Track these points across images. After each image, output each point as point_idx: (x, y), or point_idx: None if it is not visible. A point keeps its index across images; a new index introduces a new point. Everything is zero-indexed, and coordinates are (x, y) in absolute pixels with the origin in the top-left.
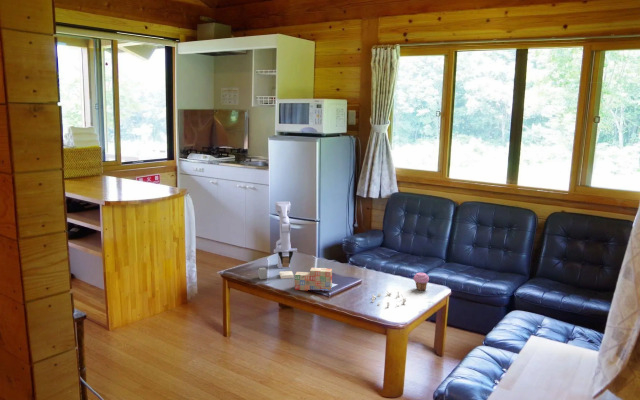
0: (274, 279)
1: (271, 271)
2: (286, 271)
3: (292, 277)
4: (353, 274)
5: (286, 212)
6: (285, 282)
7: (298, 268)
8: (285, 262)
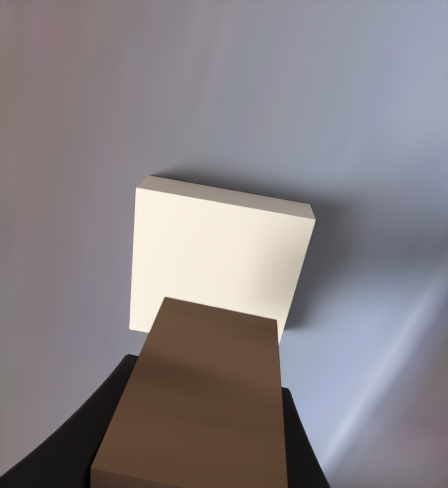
0: (400, 202)
1: (311, 432)
2: None
3: (161, 180)
4: None
5: None
6: (314, 7)
7: (54, 417)
8: (218, 376)
